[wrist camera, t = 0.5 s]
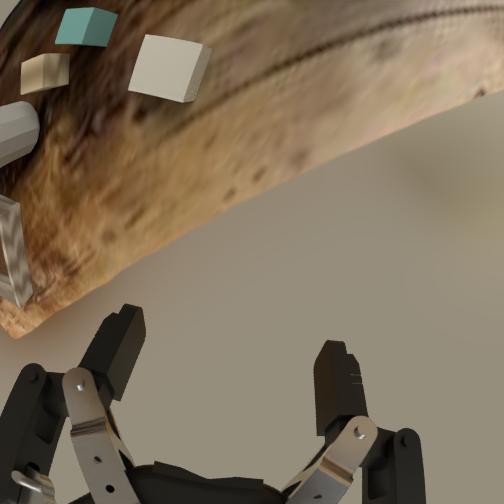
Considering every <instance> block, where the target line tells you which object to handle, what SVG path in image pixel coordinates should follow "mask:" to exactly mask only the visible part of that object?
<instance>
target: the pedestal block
mask: <svg viewBox="0 0 504 504" xmlns="http://www.w3.org/2000/svg"><path fill="white" fill-rule="evenodd" d="M212 51H213V50H212V49H210V48H208V47H207V46H205V45H203V44H199V43H194V42H189V41H184V40H179V39H173V38H167V37H161V36H154V35H145V38H144V41H143V44H142V47H141V49H140V52H139V55H138V58H137V61H136V65H135V68H134V71H133V74H132V78H131V81H130V85H129V88H128V90H130V91H135V92H140V93H144V94H149V95H153V96H158V97H162V98H166V99H170V100H174V101H178V102H182V103H184V102H190V101H194V100H195V97H196V94H197V91H198V88H199V86H200V83H201V80H202V77H203V74H204V72H205V69H206V66H207V64H208V61H209V59H210V56H211V53H212Z"/></svg>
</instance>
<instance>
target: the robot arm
mask: <svg viewBox="0 0 504 504" xmlns="http://www.w3.org/2000/svg"><path fill="white" fill-rule="evenodd" d="M145 336H146V328H145V322H144V316H143V310H142V308H141V307H138V306H134V305H130V304H124V305H123V307H122V309H121V310H120V312H119V314H117V313H111V314H110V315H109V316H108V317H106V318H105V319H104V320H103V322H102V324H101V326H100V327H99V330H98V331H97V333H96V334H95V338H93V340H92V342H91V343H90V345H89V347H88V349H87V351H86V353H85V355H84V357H83V358H82V360H81V362H80V364H79V365H78V367H76V368H72V369H70V370H69V371H67V372H66V373H54V372H46V371H45V370H44V368H43V367H42V366H41V365H39V364H36V363H31V364H28V365H26V366H25V367H24V368H23V369H22V370H21V372H20V374H19V376H18V378H17V380H16V382H15V384H14V387H13V389H12V391H11V393H10V395H9V398H8V400H7V402H6V405H5V407H4V409H3V412H2V414H1V416H0V504H56V501H55V498H54V493H55V491H54V486H53V483H52V482H51V480H50V479H49V478H48V475H49V471H50V468H51V464H52V460H53V457H54V454H55V450H56V447H57V443H58V440H59V437H60V434H61V431H62V428H63V425H64V422H65V419H66V417H70V420H71V424H72V430H71V431H70V435H71V440H72V443H73V446H74V450H75V453H76V455H77V459H78V462H79V464H80V467H81V470H82V472H83V475H84V478H85V480H86V483H87V485H88V488H89V490H90V492H89V493H87V494H86V495H84V496H82V497H80V498H78V499H76V500H74V501H73V502H70V503H68V504H338V502H339V501H340V500H341V498H342V497H343V496H344V494H345V493H346V491H347V490H348V489H349V487H350V486H351V484H352V482H353V478H352V477H353V474H354V473H355V471H356V470H357V468H358V467H362V504H426V494H425V479H424V468H423V458H422V450H421V443H420V438H419V436H418V434H417V433H416V432H415V431H414V430H412V429H409V428H403V429H401V430H399V431H398V432H393V431H389V430H385V429H382V428H379V427H377V426H376V424H375V423H374V422H373V421H372V420H371V419H370V418H369V416H368V413H367V407H366V401H365V395H364V389H363V384H362V378H361V372H360V367H359V363H358V362H357V360H356V359H355V357H354V355H353V354H347V351H346V346H345V343H344V342H343V341H332V340H327V341H326V342H325V344H324V346H323V347H322V350H321V351H320V353H319V355H318V357H317V358H316V361H315V364H314V387H315V405H316V426H317V427H316V428H317V436H325V443H324V444H323V445H322V446H321V448H320V449H319V450H318V451H317V452H316V454H315V455H314V456H313V457H312V459H311V460H310V461H309V462H308V463H307V464H306V466H305V467H304V468H303V469H302V470H301V471H300V472H299V473H298V475H296V476H295V477H294V478H293V479H292V480H291V481H290V482H289V483H288V484H287V485H286V486H285V487H284V488H283V489H282V490H281V491H279V490H277V489H275V488H273V487H271V486H269V485H267V484H263V479H252V478H241V477H232V478H218V479H206V478H203V477H201V476H199V475H197V474H194V473H192V472H189V471H187V470H185V469H183V468H181V467H177V466H173V465H169V464H165V463H161V462H157V461H155V462H154V465H141V466H135V464H134V462H133V459H132V457H131V455H130V453H129V451H128V449H127V448H126V446H125V444H124V442H123V440H122V437H121V435H120V432H119V430H118V427H117V425H116V422H115V419H114V417H113V414H112V411H111V409H110V405H111V402H112V400H113V399H114V400H117V401H121V398H122V395H123V393H124V390H125V388H126V385H127V383H128V380H129V378H130V375H131V373H132V370H133V368H134V365H135V363H136V360H137V358H138V355H139V353H140V350H141V348H142V346H143V343H144V341H145Z"/></svg>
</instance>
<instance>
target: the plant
mask: <svg viewBox="0 0 504 504" xmlns="http://www.w3.org/2000/svg"><path fill="white" fill-rule="evenodd" d="M0 273H2V274H5V275H7V276H9V274H8V270H7V265H6V261H5V256H4V252H3V247H2V241H1V236H0Z"/></svg>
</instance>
